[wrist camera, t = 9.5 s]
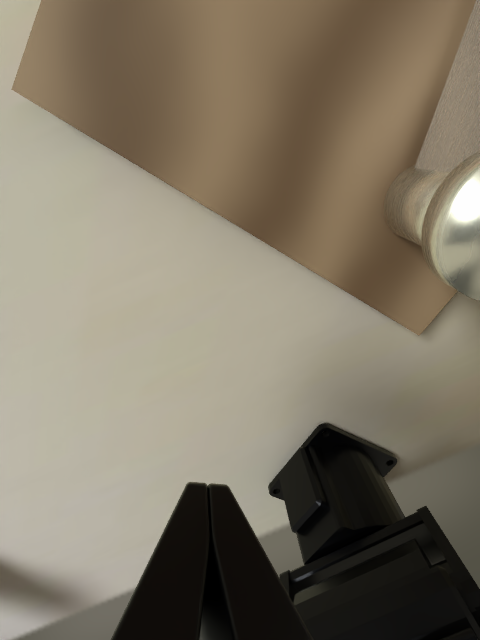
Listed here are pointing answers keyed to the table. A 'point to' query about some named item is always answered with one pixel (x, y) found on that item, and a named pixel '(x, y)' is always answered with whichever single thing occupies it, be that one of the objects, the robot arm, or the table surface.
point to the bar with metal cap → (447, 177)
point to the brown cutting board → (266, 117)
